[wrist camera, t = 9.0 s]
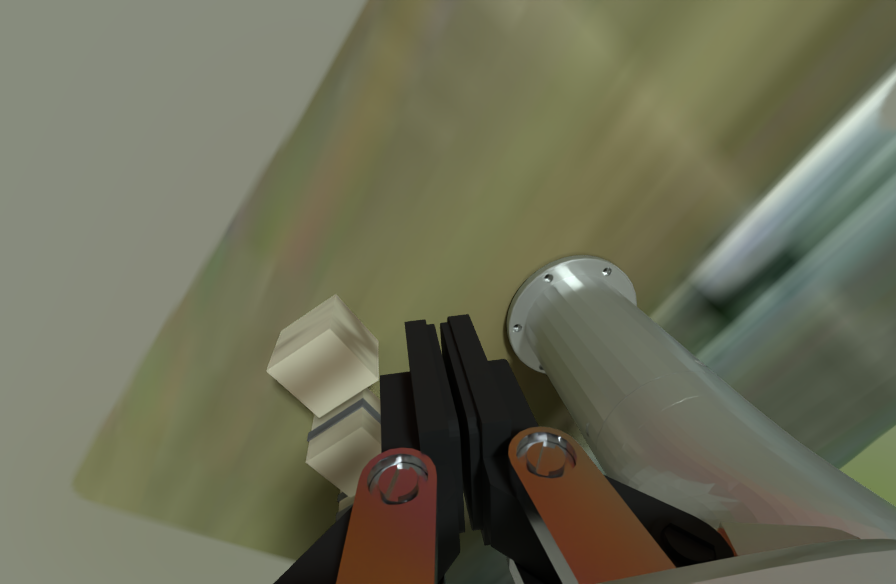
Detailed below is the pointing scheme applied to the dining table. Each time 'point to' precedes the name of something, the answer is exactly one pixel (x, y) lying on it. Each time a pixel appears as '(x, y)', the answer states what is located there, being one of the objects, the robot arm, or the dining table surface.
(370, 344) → the plain block
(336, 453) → the banded block one
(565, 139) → the dining table surface
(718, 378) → the robot arm
